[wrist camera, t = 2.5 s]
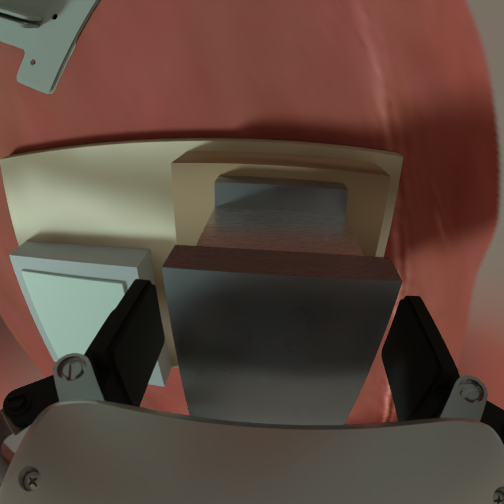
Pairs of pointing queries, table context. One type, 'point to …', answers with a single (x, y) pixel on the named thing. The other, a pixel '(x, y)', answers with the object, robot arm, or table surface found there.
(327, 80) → the table surface
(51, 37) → the metal bracket
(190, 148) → the board
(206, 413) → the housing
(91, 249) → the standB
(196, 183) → the stand
